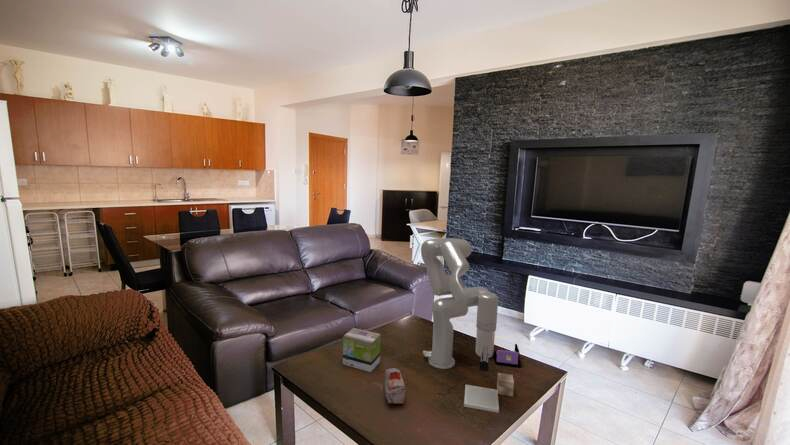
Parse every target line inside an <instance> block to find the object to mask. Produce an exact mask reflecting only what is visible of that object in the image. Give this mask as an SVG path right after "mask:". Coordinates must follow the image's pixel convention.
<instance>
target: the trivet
mask: <svg viewBox="0 0 790 445" xmlns="http://www.w3.org/2000/svg"><path fill="white" fill-rule="evenodd" d="M464 386H465V388H464V399H463V407H466V408H470V409H476V410H481V411H487V412H492V413H497V414H499V413H500V406H499V405H500V404H499V394H498V391H497V389H494V388H488V387H483V386H482V387H481V386H477V385H476V386H475V385H471V384H465V385H464Z"/></svg>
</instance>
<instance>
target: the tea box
mask: <svg viewBox="0 0 790 445" xmlns="http://www.w3.org/2000/svg"><path fill="white" fill-rule="evenodd" d="M381 335H382V334H381V333H377V332H373V331H369V330H364V329H361V328H356V327H352V328H351V329H350V330H349V331H348V332H347V333H345V334H344V335H343V337H342V338H343V339H342V365H344V366H348V367H350V368H355V369H358V370H361V371H364V372H365V371H366V372H368V373H371V372H373V371H374V369H375V368H376V367H377V366H378V365H379V364H380V362H381V344H382V343H381V342H382V341H381V340H382V339H381V338H382V336H381Z"/></svg>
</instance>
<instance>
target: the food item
mask: <svg viewBox="0 0 790 445" xmlns="http://www.w3.org/2000/svg"><path fill="white" fill-rule="evenodd" d="M383 377H384V379H383V380H384V382H383V384H384V392H385V398H386V400H387V402H388V404H393V405H394V404H396V405H397V404H398V405H399V404H400V405H401V404H404V403H405V396H406V386H405V385H406V384H405V382H404V379H403V375H402V373H401V370H400V369H398V368H393V367H392V368H387V369H384V376H383Z"/></svg>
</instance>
